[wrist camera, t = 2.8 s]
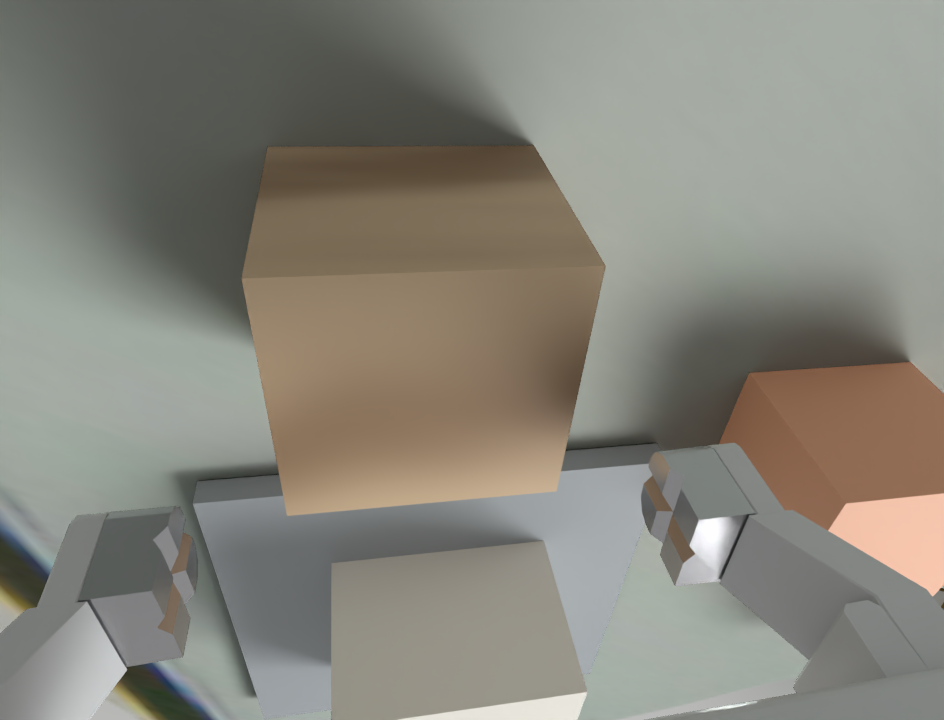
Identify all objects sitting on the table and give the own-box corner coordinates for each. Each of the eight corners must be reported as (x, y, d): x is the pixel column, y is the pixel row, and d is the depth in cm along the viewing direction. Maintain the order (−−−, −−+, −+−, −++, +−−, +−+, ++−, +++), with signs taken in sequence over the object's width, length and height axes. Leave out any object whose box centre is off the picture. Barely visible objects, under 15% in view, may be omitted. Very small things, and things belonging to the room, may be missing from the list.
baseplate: (197, 481, 19) (155, 685, 14) (657, 443, 21) (743, 610, 17) (265, 699, 28) (253, 867, 23) (584, 656, 30) (627, 801, 25)
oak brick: (268, 144, 13) (241, 278, 9) (532, 143, 14) (606, 265, 10) (297, 356, 17) (287, 516, 13) (508, 345, 18) (556, 491, 14)
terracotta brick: (747, 370, 20) (845, 503, 16) (908, 360, 21) (1037, 483, 17) (697, 489, 23) (768, 620, 19) (836, 475, 24) (930, 599, 20)
